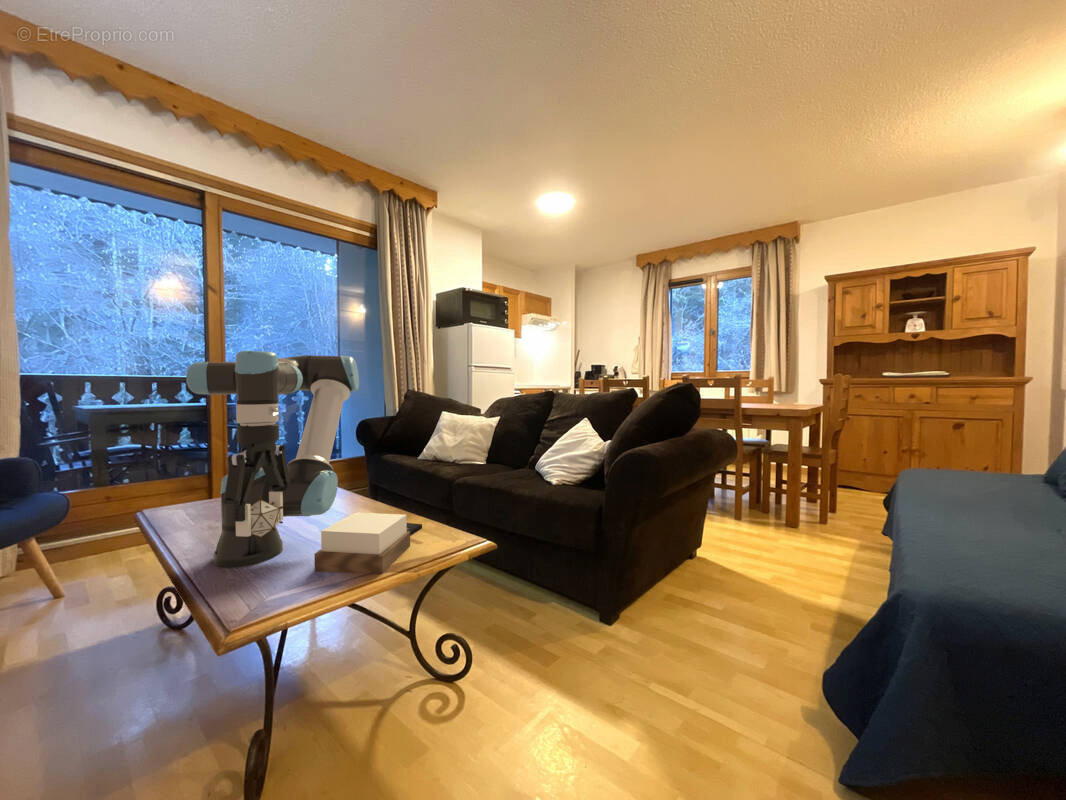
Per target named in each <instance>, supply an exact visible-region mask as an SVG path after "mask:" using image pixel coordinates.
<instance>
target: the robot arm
mask: <svg viewBox="0 0 1066 800" xmlns="http://www.w3.org/2000/svg"><path fill="white" fill-rule="evenodd" d="M185 374H186V375H185V378H186V380H185V381H186V385H187V387H188V389H189V390H190V392H192V393H194V394H196V395H207V396H212V395H236V404H235V406H236V409H235V412H236V417H235V418H236V422H237V423H238V424H239V425H238V426H237V427H236V437H237V439H236V440H237V443H239V444H240V445H241V449H240V452H239V453H235V454H229V455H227V456H228V457H227V459H228V473H227V474H226V475H225V476H223V478H222V479H221V484H220V492H219V494H220V509H221V513H220V515H221V534H220V536H219V538H218V541H217V546H216V548H215V551H214V553H213V565H214V566H215V567H218V568H223V569H224V568H225V569H227V568H228V569H231V568H243V567H248V566H253V565H256V564H261V563H264V562H267V561H269V560H272V559H273V558H275V557H277V556H279V555H280V554H282V552H283V551H284V547H283V546H284V545H283V544H284V543H283V542H284V541H283V540H282V539H281V537H280V533H279V530H278V528H277V526H276V527H275V529H276V531H274V530H271V531H270V532H268V533H267V534H265V535H264V536H262V541H261V540H260V537H259V536H256V535H253V534H251V505H253V504H254V503H255V502H257V501H258V500H259V496H261V500H263V501H266V502H268V503H270V504H271V503H272V502H274V504H273V505H274V506H277V507H279V508H280V507H281V506H284V507H283V508H282V509H280V521H283V520H284V518H285V517H286V518H287V517H311V516H320V515H323V514H325V513H327V512H328V511H329V510H330V509H331V507H332V506H333V504H334V502H335V499H336V497H337V492H338V485H339V479H338V475H337V473H336V472H334V467H333V466H332V464H330V461H331V456H332V453H333V448H334V442H335V439H336V435H337V430H338V427H339V423H340V417H341V413H342V408H343V406H344V402H345V401H348V400H349V398H350V396H351V393H352V392H353V393H354V392H357V391H358V390H359V388H360V387H359V386H360V377H359V375H360V374H359V370H358V365H357V363H356V360H355V358H353V356H349V355H347V356H346V355H342V354H341V355H339V356H338V355H307V354H306V355H305V354H304V355H295V356H288V357H279V358H278V355H277V354H276V352H273V351H265V350H240V351H238V352H237V353H236V355H235V361H201V362H200V361H197V362H193V363H191V364H190V365H189V367H188V368H187V370H186V373H185ZM297 391H307V392H311V394H312V395H313V397H312V400H311V404H310V408H309V411H308V415H307V419H306V421H305V424H304V425H305V426H304V430H303V432H302V435H301V439H300V442H299V447H298V450H297V453H296V456H295V458H294V459H292V460H290V461H289V462H288V463H287V456H286V449H287V448H286V445H285V444H280V445H279V444H276V442H278V441H279V440H280V425H279V424H278V423H277V422H279V421H280V420H279V418H280V417H279V395H281V396H282V395H283V396H284V395H286V396H287V395H290V394H293V393H296V392H297Z"/></svg>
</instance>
